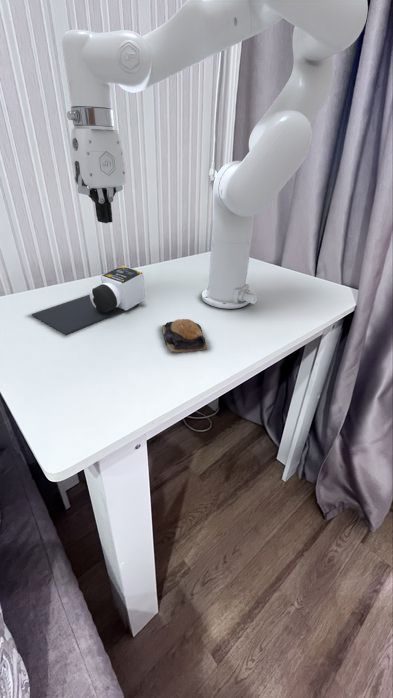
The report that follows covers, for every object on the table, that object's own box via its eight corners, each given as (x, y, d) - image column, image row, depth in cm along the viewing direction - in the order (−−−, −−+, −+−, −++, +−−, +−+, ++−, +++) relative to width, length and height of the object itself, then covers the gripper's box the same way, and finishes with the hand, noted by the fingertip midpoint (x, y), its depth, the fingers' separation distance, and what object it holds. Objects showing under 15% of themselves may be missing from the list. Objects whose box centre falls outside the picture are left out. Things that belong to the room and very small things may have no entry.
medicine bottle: (143, 271, 77) (104, 292, 70) (147, 298, 82) (110, 320, 74) (122, 265, 81) (82, 284, 73) (126, 291, 85) (90, 311, 78)
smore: (159, 328, 72) (159, 312, 70) (197, 325, 74) (197, 310, 72) (168, 354, 64) (168, 337, 62) (210, 349, 65) (211, 333, 64)
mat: (137, 305, 81) (137, 304, 81) (65, 335, 68) (65, 333, 67) (103, 291, 88) (103, 289, 88) (31, 315, 74) (31, 313, 74)
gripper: (71, 118, 56) (87, 230, 66) (136, 122, 66) (141, 219, 76) (46, 118, 60) (65, 224, 70) (111, 122, 70) (119, 215, 80)
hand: (105, 221), depth 73 cm, fingers closed
